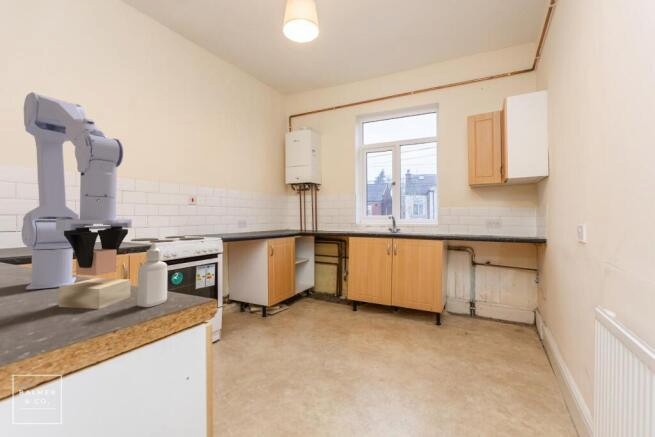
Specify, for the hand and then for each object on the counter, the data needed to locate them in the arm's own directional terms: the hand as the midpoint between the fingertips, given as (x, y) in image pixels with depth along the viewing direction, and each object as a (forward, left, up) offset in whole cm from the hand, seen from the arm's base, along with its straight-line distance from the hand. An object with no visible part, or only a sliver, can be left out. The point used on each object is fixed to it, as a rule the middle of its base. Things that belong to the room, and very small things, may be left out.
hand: (97, 265), depth 60 cm
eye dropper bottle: (+7, +9, -7) cm, 14 cm away
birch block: (0, 0, -8) cm, 8 cm away
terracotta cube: (0, 0, -2) cm, 2 cm away
